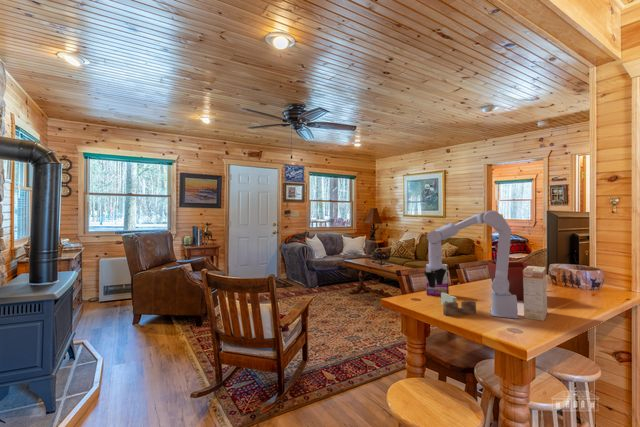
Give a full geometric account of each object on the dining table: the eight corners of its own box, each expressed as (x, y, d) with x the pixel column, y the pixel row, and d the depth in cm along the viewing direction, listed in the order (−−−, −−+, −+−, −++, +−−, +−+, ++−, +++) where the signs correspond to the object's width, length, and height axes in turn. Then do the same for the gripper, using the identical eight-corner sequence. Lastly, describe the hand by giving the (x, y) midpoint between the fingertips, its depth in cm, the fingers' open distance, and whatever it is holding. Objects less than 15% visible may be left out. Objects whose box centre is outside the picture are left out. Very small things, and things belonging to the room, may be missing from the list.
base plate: (473, 312, 142) (472, 300, 142) (476, 313, 140) (475, 301, 140) (443, 314, 139) (443, 302, 139) (446, 315, 137) (445, 303, 137)
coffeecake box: (528, 309, 145) (527, 265, 145) (548, 312, 140) (546, 266, 140) (523, 318, 133) (522, 270, 133) (544, 321, 129) (543, 271, 129)
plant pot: (547, 302, 157) (546, 267, 157) (507, 302, 157) (506, 267, 157) (523, 293, 176) (522, 261, 176) (487, 293, 176) (486, 262, 176)
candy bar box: (448, 294, 175) (447, 263, 176) (448, 296, 171) (448, 265, 171) (426, 293, 179) (425, 263, 179) (426, 295, 174) (425, 264, 174)
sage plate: (441, 304, 156) (440, 292, 156) (444, 304, 156) (444, 292, 156) (453, 310, 146) (453, 297, 146) (456, 309, 146) (456, 297, 146)
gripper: (433, 254, 159) (434, 282, 159) (419, 257, 149) (420, 287, 149) (448, 255, 154) (448, 284, 154) (434, 258, 144) (435, 289, 144)
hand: (435, 286), depth 151 cm, fingers open, 7 cm apart
